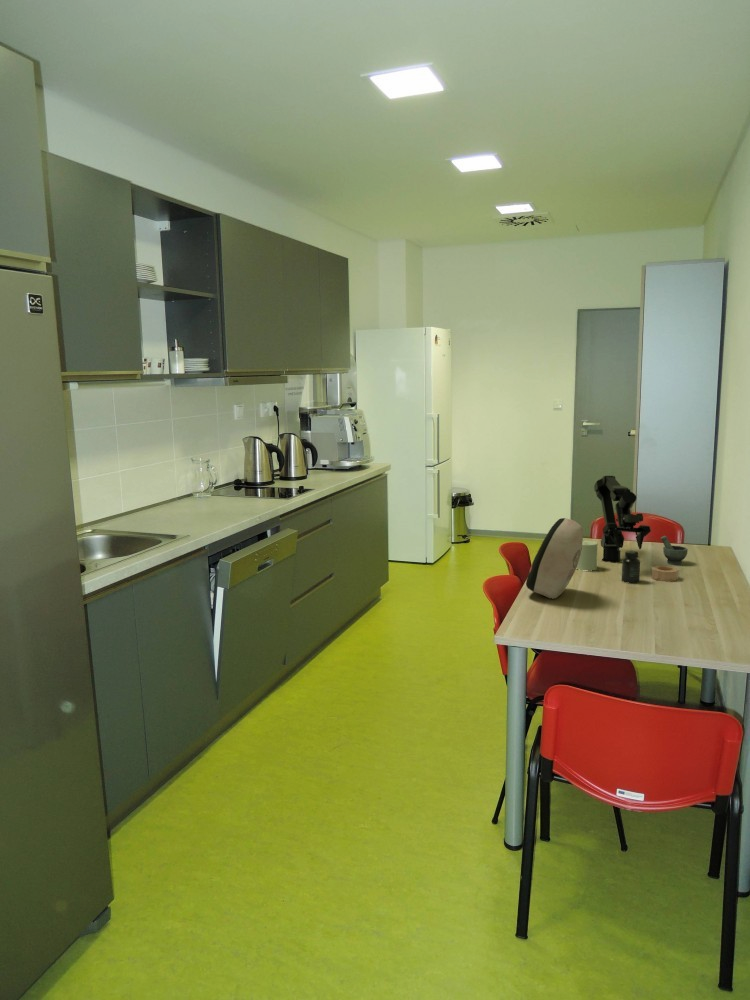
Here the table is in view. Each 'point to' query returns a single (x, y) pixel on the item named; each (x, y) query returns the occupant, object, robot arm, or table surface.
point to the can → (588, 556)
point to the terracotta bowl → (665, 573)
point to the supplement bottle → (631, 567)
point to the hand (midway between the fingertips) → (629, 548)
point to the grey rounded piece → (556, 559)
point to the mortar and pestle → (673, 552)
